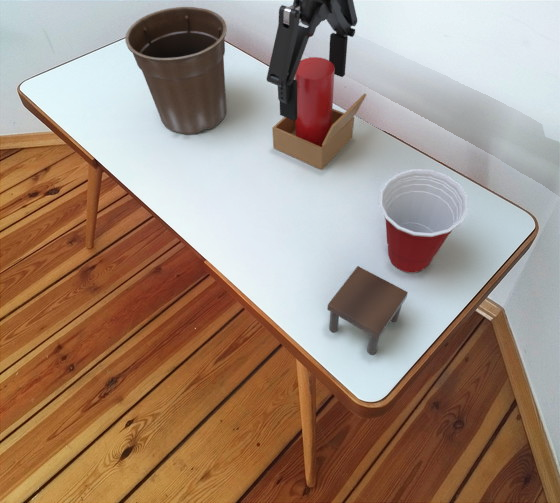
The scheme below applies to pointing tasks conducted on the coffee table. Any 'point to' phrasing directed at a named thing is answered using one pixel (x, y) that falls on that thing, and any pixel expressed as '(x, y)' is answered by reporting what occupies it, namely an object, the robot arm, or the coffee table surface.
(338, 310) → the stool
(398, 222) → the plastic cup
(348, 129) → the carton
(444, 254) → the coffee table surface
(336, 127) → the flap
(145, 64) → the plant pot
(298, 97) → the can
